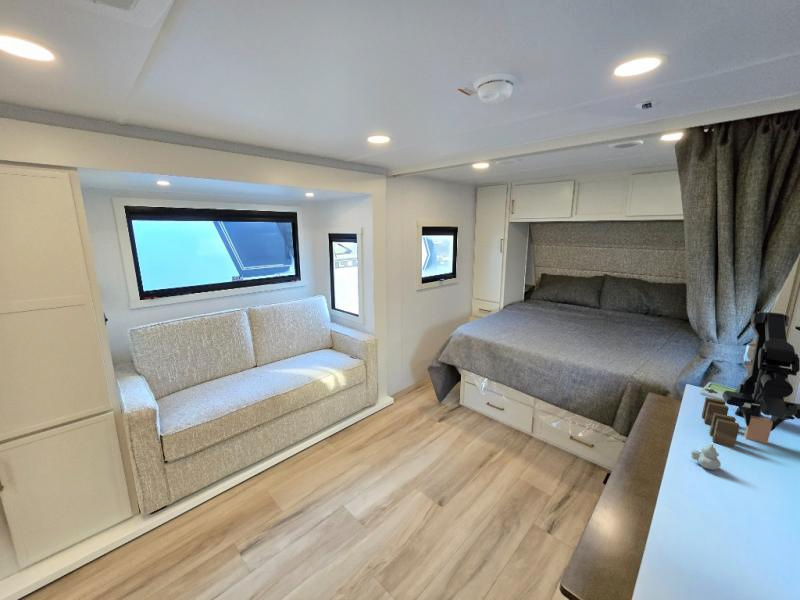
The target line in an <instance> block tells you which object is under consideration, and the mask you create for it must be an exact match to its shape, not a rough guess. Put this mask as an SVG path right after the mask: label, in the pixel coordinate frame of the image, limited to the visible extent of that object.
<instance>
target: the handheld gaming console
mask: <svg viewBox="0 0 800 600" xmlns="http://www.w3.org/2000/svg"><path fill="white" fill-rule="evenodd" d="M725 391H732V392H736V391H737V388H733V387H729V386H725V385H722V384H718V383H715V382H712V381H711V382H710V381H709V382H708V383H706V385H704V387H703V388H702V389H701V390H700V392H699V394H700V395H701V396H704V397H708V398H713V399H718V400H723V401H725V400H724V398H723V393H724V392H725Z"/></svg>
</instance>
